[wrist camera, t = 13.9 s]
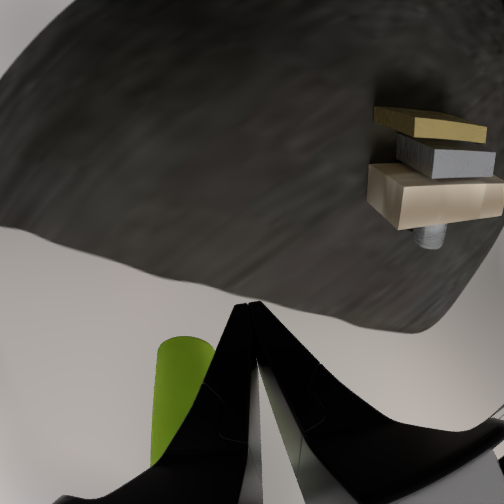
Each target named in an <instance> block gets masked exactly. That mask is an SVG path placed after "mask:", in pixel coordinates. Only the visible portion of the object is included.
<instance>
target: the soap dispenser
mask: <svg viewBox="0 0 504 504" xmlns="http://www.w3.org/2000/svg"><path fill="white" fill-rule="evenodd" d="M214 353H215V351H214V349H213V347H212V346H211V345H210V344H209V343H207V342H206V341H204V340H202V339H199V338H195V337H190V336H179V337H174V338H171V339H168V340H166V341H164V342H163V343H162V344H161V345H160V347H159V349H158V354H157V364H156V376H155V386H154V400H153V416H152V434H151V466H153V465H154V464H155V463H156V462H157V461H158V460H159V458H160V457H161V456H162V454H163V453H164V451H165V450H166V448H167V447H168V445H169V443H170V442H171V440H172V439H173V437H174V435H175V434H176V432H177V430H178V429H179V427H180V425H181V424H182V422H183V421H184V419H185V417H186V415H187V413H188V412H189V410H190V408H191V406H192V404H193V402H194V400H195V398H196V396H197V393H198V391H199V389H200V386H201V384H202V383H203V379H204V377H205V375H206V372H207V370H208V367H209V365H210V363H211V360H212V358H213V356H214ZM151 466H150V467H151Z"/></svg>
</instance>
